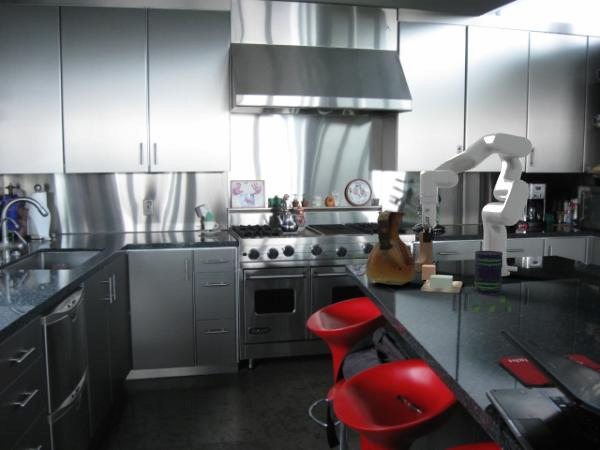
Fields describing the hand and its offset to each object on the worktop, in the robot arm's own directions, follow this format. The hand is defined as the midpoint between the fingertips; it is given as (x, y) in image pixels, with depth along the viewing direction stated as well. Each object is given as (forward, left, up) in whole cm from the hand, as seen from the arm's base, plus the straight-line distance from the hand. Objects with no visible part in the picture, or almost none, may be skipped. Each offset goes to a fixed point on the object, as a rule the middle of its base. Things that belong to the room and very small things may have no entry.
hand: (428, 241), depth 227 cm
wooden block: (+5, -21, -16) cm, 27 cm away
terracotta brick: (0, 0, -16) cm, 16 cm away
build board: (-7, +15, -16) cm, 23 cm away
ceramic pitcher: (+13, +14, -16) cm, 26 cm away
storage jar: (-24, +19, -16) cm, 35 cm away
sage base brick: (-7, +19, -15) cm, 25 cm away
